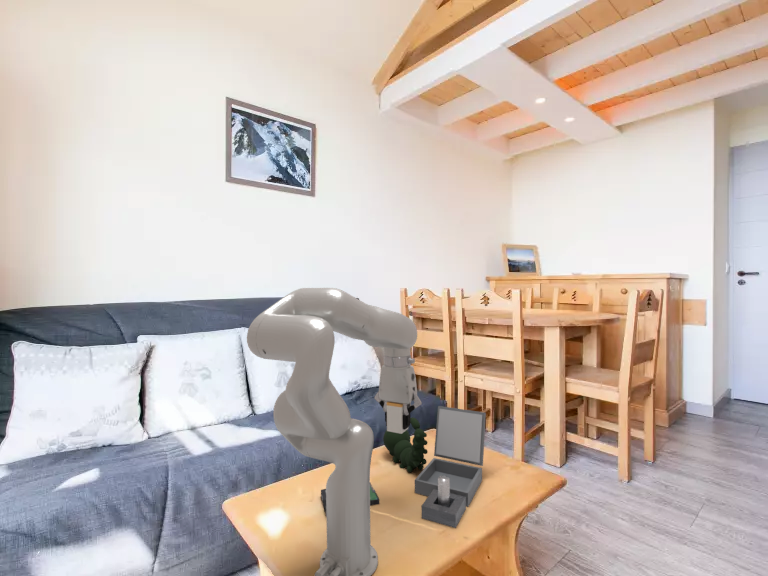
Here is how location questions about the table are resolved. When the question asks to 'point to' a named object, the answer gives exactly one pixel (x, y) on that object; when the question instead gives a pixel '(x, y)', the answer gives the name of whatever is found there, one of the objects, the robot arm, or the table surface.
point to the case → (460, 476)
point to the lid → (460, 435)
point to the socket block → (444, 509)
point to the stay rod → (444, 491)
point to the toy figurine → (407, 447)
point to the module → (395, 417)
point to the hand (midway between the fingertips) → (397, 425)
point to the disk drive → (373, 497)
